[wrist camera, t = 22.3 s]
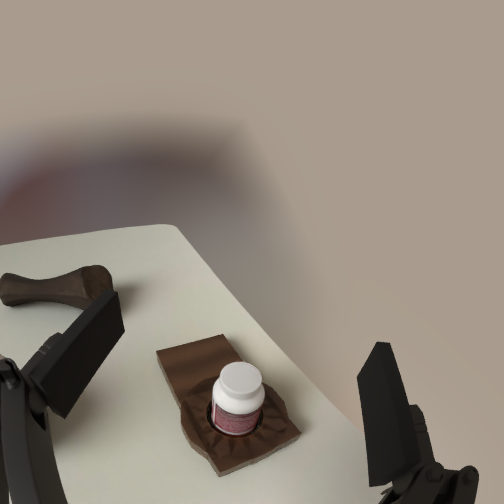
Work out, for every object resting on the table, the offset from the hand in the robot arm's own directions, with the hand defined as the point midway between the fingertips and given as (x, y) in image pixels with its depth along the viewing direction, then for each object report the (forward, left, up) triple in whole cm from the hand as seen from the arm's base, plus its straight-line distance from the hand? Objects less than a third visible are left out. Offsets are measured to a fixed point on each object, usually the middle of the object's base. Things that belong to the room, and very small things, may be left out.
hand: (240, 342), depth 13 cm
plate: (+4, -12, -26) cm, 29 cm away
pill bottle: (+1, -10, -26) cm, 28 cm away
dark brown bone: (+43, -14, -26) cm, 53 cm away
